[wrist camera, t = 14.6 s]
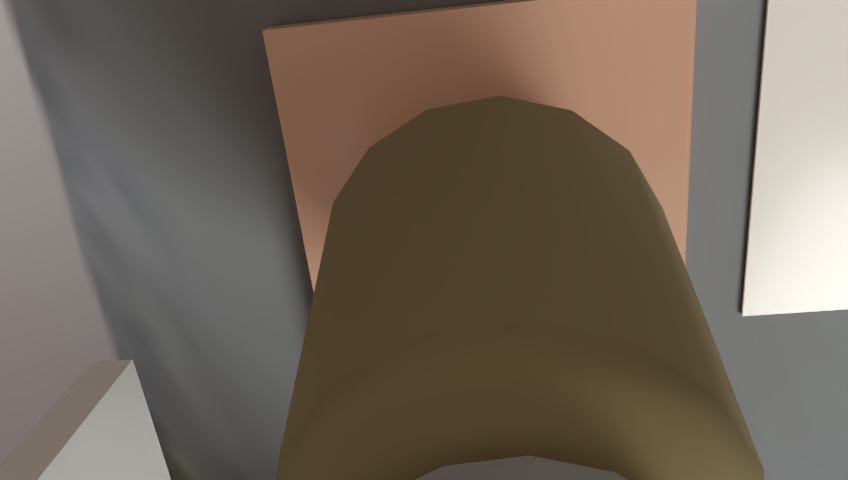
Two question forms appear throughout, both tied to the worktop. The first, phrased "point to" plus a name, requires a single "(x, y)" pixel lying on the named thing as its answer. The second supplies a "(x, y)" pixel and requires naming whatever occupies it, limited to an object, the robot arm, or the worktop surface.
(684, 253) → the coaster pad
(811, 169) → the white flat square slab
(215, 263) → the worktop surface
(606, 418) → the squeeze bottle
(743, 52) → the worktop surface
